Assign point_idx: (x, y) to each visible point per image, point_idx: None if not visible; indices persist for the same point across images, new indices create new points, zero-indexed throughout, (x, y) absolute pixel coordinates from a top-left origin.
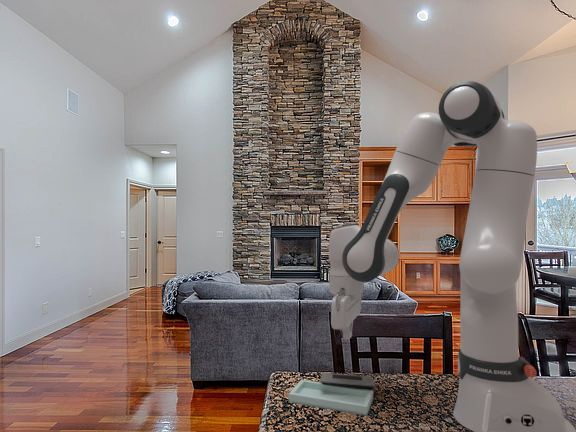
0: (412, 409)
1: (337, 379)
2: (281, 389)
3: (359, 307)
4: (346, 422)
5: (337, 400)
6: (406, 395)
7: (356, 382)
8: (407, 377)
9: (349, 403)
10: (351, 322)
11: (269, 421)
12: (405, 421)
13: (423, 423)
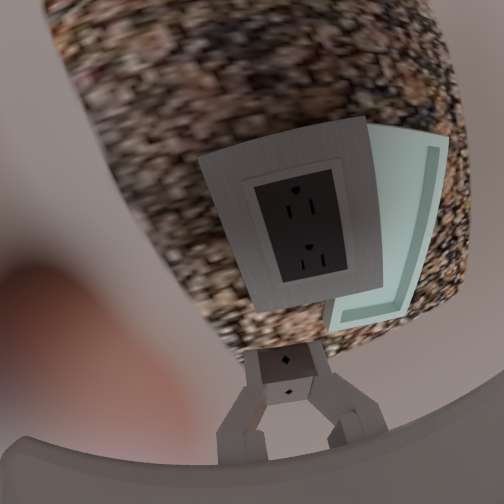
0: (365, 11)
1: (352, 252)
2: (341, 340)
3: (33, 488)
4: (457, 174)
5: (431, 214)
6: (271, 18)
7: (358, 188)
8: (97, 50)
9: (440, 182)
10: (393, 431)
11: (450, 294)
12: (428, 43)
13: (419, 6)
